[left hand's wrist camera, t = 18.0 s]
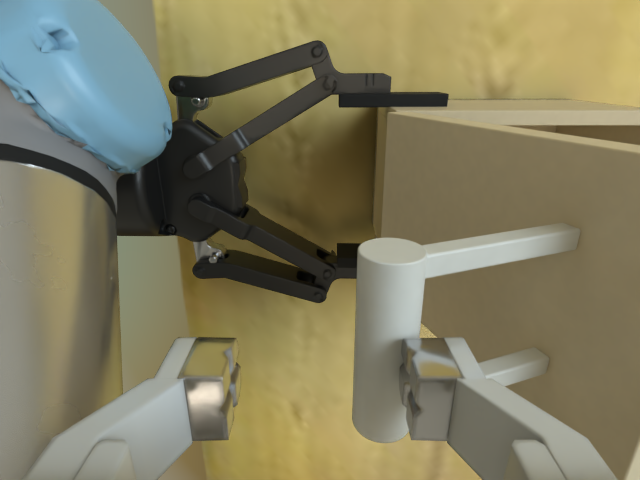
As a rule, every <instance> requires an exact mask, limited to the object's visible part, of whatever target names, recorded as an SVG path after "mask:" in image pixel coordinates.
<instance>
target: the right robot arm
mask: <svg viewBox="0 0 640 480" xmlns="http://www.w3.org/2000/svg"><path fill="white" fill-rule="evenodd" d="M309 67H312V69H313V72H314V74H315V77H316V80H315V81H313V82H311V83H310V84H308V85H307V86H305V87H304V88H302V89H300V90H299V91H297V92H296V93H294V94H292V95H291V96H289V97H288V98H286V99H285V100H283V101H281V102H280V103H278V104H277V105H275V106H273V107H272V108H270V109H269V110H267V111H266V112H264V113H262V114H261V115H259V116H258V117H256V118H254V119H253V120H251V121H250V122H248V123H247V124H245V125H243V126H242V127H240V128H239V129H237V130H235V131H234V132H232V133H231V134H229V135H227V136H226V137H224V138H223V137H222V136H221V135H219V134H218V133H216V132H215V131H213V130H212V129H211V128H209V127H208V126H206V125H205V124H203V123H202V122H201V121H199V120H197V116H198V113H199V112H200V111H201V110H204V109H208V108H209V107H210V106H211V105H212V101H213V97H216V96H221V95H225V94H229V93H232V92H235V91H238V90H241V89H244V88H247V87H250V86H254V85H257V84H260V83H263V82H266V81H269V80H272V79H275V78H278V77H281V76H284V75H287V74H290V73H293V72H296V71H299V70H302V69H305V68H309ZM169 89H170V91H171V92H172V94H174V95H175V96H176V100H177V115H178V120H177V121H175V122H173V123H172V116H171V111H170V107H169V103H168V100H167V97H166V94H165V92H164V89H163V87H162V85H161V82H160V80H159V78H158V76H157V74H156V72H155V70H154V69H153V67H152V65H151V63H150V62H149V60H148V59H147V57H146V55H145V54H144V52H143V51H142V49H141V48H140V46H139V45H138V44H137V42H136V41H135V39H134V38H133V37H132V36H131V35H130V33H129V32H128V31H127V30H126V29H125V27H124V26H123V25H122V24H121V23H120V22H119V21H118V20H117V19H116V18H115V16H114V15H113V14H112V13H111V12H110V11H109V10H108V9H107V8H106V7H105V6H103V5H102V4H101V3H100V2H99V1H98V0H0V480H22V479H23V478H24V476H25V475H26V474H27V472H28V471H29V470H30V468H31V467H32V466H33V464H34V463H35V462H36V460H37V459H38V457H39V456H40V455H41V453H42V452H43V451H44V449H45V448H46V447H47V445H48V444H49V443H50V441H51V440H52V438H53V437H55V436H57V435H58V434H60V433H61V432H63V431H65V430H66V429H68V428H69V427H71V426H73V425H74V424H76V423H77V422H79V421H81V420H82V419H84V418H85V417H87V416H89V415H90V414H92V413H93V412H95V411H97V410H98V409H100V408H101V407H103V406H105V405H106V404H108V403H109V402H111V401H113V400H114V399H116V398H117V397H119V396H121V395H122V394H123V385H122V358H121V332H120V306H119V280H118V253H117V236H171V235H177V236H181V237H184V238H186V239H188V240H190V241H192V242H193V244H194V250H195V255H196V260H197V262H196V264H195V265H194V267H193V274H194V275H195V276H196V277H197V278H201V279H206V278H228V279H231V280H235V281H239V282H242V283H246V284H250V285H253V286H257V287H261V288H264V289H268V290H272V291H275V292H279V293H283V294H286V295H290V296H294V297H297V298H301V299H305V300H308V301H312V302H316V303H321V302H323V301H325V299H326V296H327V292H328V290H329V287H330V285H331V283H332V282H333V281H334V280H336V279H339V278H353V279H357V254H358V247H359V246H360V244H359V243H337V255H336V254H335V252H334V251H333V250H331V252H328V251H327V250H325V249H323V248H321V247H319V246H317V245H316V244H314V243H312V242H310V241H308V240H306V239H305V238H303V237H301V236H299V235H297V234H295V233H294V232H292V231H290V230H288V229H286V228H285V227H283V226H281V225H279V224H277V223H275V222H274V221H272V220H270V219H268V218H266V217H264V216H263V215H261V214H260V213H259V212H258V211H257V210H256V209H255V208H253V207H251V206H249V205H247V204H246V202H247V201H248V189H247V187H246V184H245V181H244V176H245V171H246V160H245V157H243V155H242V153H241V152H240V151H241V150H243V149H245V148H246V147H248V146H249V145H251V144H252V143H254V142H255V141H257V140H259V139H260V138H262V137H264V136H265V135H267V134H268V133H270V132H272V131H273V130H275V129H277V128H278V127H280V126H281V125H283V124H285V123H286V122H288V121H289V120H291V119H293V118H294V117H296V116H298V115H299V114H301V113H302V112H304V111H306V110H307V109H309V108H311V107H312V106H314V105H315V104H317V103H319V102H320V101H322V100H323V99H325V98H327V97H328V96H330V95H339V107H447V104H448V95H449V94H446V93H440V92H390V89H391V77H390V76H388V75H386V74H383V73H350V74H344V73H340V72H338V71H337V70H335V68H334V67H333V65H332V62H331V59H330V56H329V53H328V50H327V47H326V45H325V44H324V43H323V42H321V41H312V42H309V43H306V44H303V45H300V46H297V47H294V48H291V49H288V50H286V51H283V52H280V53H277V54H274V55H271V56H268V57H265V58H262V59H259V60H256V61H253V62H250V63H247V64H244V65H241V66H238V67H235V68H232V69H229V70H226V71H223V72H220V73H217V74H214V75H211V76H208V77H207V76H191V75H190V76H174V77H172V78H171V79H170V81H169ZM221 229H222V230H224V231H226V232H227V233H229V234H231V235H233V236H235V237H237V238H239V239H246V240H249V241H251V242H253V243H255V244H257V245H258V246H260V247H262V248H264V249H266V250H268V251H270V252H272V253H273V254H275V255H277V256H279V257H281V258H283V259H285V260H287V261H288V262H290V263H292V264H294V265H296V266H298V267H300V268H298V267H295V266H291V265H288V264H284V263H280V262H277V261H273V260H270V259H266V258H263V257H259V256H255V255H252V254H248V253H245V252H241V251H236V250H226V248H225V246H224V245H223V244H217V243H214V242H213V241H212V240H211V238H210V237H211V236H213V235H214V234H215V233H217V232H218V231H219V230H221Z"/></svg>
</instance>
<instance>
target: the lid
mask: <svg viewBox="0 0 640 480" xmlns="http://www.w3.org/2000/svg"><path fill="white" fill-rule="evenodd" d="M421 323H422V324H423V325H424V326H425V327H427V328H428V329H429V330H430V331H431V332H432V333H433V334H434V335H435V336H436V337H437V338H442V337H462V338H464V339H465V341H466V343H467V345H468V346H469V348H470V350H471V352H472V354H473V355H474V357H475V359H476V361H477V363H478V364H479V366H480V368H481V370H482V372H483V373H484V375H485V377H486V379H494V380H495V381H497V382H498V383H500V384H502V385H503V386H505V387H506V388H508V389H510V390H511V391H513V392H514V393H516V394H518V395H519V396H521V397H522V398H524V399H526V400H527V401H529V402H530V403H532V404H533V405H535V406H537V407H538V408H540V409H541V410H543V411H545V412H546V413H548V414H549V415H551V416H553V417H554V418H556V419H557V420H559V421H561V422H562V423H564V424H565V425H567V426H569V427H570V428H572V429H573V430H575V431H576V432H578V433H580V434H581V435H583V436H584V437H586V438H588V440H589V441H590V442H591V444H592V445H593V447H594V448H595V449H596V451H597V452H598V453H599V455H600V456H601V457H602V459H603V460H604V462H605V463H606V464H607V466H608V467H609V468H610V470H611V471H612V473H613V474H614V475H615V477H616V478H617V479H618V480H640V145H634V144H627V143H621V142H614V141H607V140H600V139H593V138H586V137H579V136H572V135H566V134H559V133H552V132H545V131H538V130H531V129H524V128H517V127H511V126H504V125H497V124H490V123H483V122H476V121H469V120H462V119H456V118H449V117H442V116H435V115H428V114H421V113H414V112H408V111H406V112H389V113H388V114H387V133H386V151H385V170H384V188H383V207H382V225H381V238H376V239H371V240H368V241H365V242H363V243H362V244H360V246H359V247H358V254H357V285H356V316H355V347H354V378H353V409H352V420H353V424H354V426H355V428H356V429H357V431H358V432H359V433H360V434H361V435H362V436H364V437H365V438H367V439H369V440H371V441H374V442H379V443H391V442H395V441H398V440H400V439H402V438H403V437H404V436H405V435H406V434H407V433H408V431H409V429H408V425H407V421H406V409H407V408H406V407H405V406H404V405H403V404H402V401H401V397H400V390H399V370H400V366H401V365H402V363H403V358H402V355H401V347H402V340H403V338H419V335H420V325H421Z"/></svg>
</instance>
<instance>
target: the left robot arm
mask: <svg viewBox="0 0 640 480" xmlns="http://www.w3.org/2000/svg"><path fill="white" fill-rule="evenodd" d="M238 354H239V347H238V340H237V339H236V338H213V337H198V338H197V337H178V338H177V339H175V340H174V342H173V344H172V346H171V348H170V350H169V351H168V353H167V355H166V357H165V359H164V360H163V362H162V364H161V366H160V368H159V369H158V371H157V373H156V375H155V377H154V379H146V380H145V381H143V382H141V383H140V384H138V385H137V386H135V387H134V388H132V389H130V390H129V391H127V392H126V393H124V394H122V395H121V396H119V397H117V398H116V399H114V400H113V401H111V402H109V403H108V404H106V405H105V406H103V407H101V408H100V409H98V410H97V411H95V412H93V413H92V414H90V415H89V416H87V417H85V418H84V419H82V420H81V421H79V422H77V423H76V424H74V425H73V426H71V427H69V428H68V429H66V430H65V431H63V432H61V433H60V434H58V435H57V436H55V437H53V438H52V440H51V441H50V443H49V444H48V445H47V447H46V448H45V449H44V451H43V452H42V453H41V455H40V456H39V457H38V459H37V460H36V462H35V463H34V464H33V466H32V467H31V468H30V470H29V471H28V472H27V474H26V475H25V476H24V478H23V479H22V480H158V478H159V477H160V476H161V475H162V474H163V473H164V472H165V471H166V470H167V469H168V468H169V467H170V466H171V465H172V464H173V463H174V462H175V461H176V460H177V459H178V458H179V457H180V456H181V455H182V454H183V453H184V451H185V450H186V449H187V448H188V447H189V446H190V445H191V444H192V443H193V442H192V441H209V440H229V436H230V432H231V429H232V425H233V421H234V410H233V408H234V407H235V406H236V405H237V404H238V400H239V396H240V388H241V368H240V365H239V364H238V363H237V362H236V361H237V358H238ZM401 355H402V358H403V363H402V365H401V366H400V370H399V390H400V397H401V401H402V404H403V405H404V406H405V407H406V408H407V409H406V421H407V425H408V429H409V433H410V437H411V440H430V441H447V443H448V444H449V445H450V446H451V447H452V448H453V449H454V450H455V451H456V452H457V453H458V454H459V456H460V457H461V458H462V459H463V460H464V461H465V462H466V463H467V464H468V465H469V466H470V467H471V468H472V469H473V470H474V471H475V472H476V473H477V474H478V475H479V476H480V477H481V478H482V480H618V479H617V478H616V477H615V475H614V474H613V473H612V471H611V470H610V468H609V467H608V466H607V464H606V463H605V462H604V460H603V459H602V457H601V456H600V455H599V453H598V452H597V451H596V449H595V448H594V447H593V445H592V444H591V442H590V441H589V440H588V438H586V437H584V436H583V435H581V434H580V433H578V432H576V431H575V430H573V429H572V428H570V427H569V426H567V425H565V424H564V423H562V422H561V421H559V420H557V419H556V418H554V417H553V416H551V415H549V414H548V413H546V412H545V411H543V410H541V409H540V408H538V407H537V406H535V405H533V404H532V403H530V402H529V401H527V400H526V399H524V398H522V397H521V396H519V395H518V394H516V393H514V392H513V391H511V390H510V389H508V388H506V387H505V386H503V385H502V384H500V383H498V382H497V381H495V380H494V379H486V377H485V375H484V373H483V372H482V370H481V368H480V366H479V364H478V363H477V361H476V359H475V357H474V355H473V354H472V352H471V350H470V348H469V346H468V345H467V343H466V341H465V339H464V338H462V337H442V338H403V340H402V347H401Z"/></svg>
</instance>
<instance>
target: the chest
mask: <svg viewBox="0 0 640 480" xmlns="http://www.w3.org/2000/svg"><path fill="white" fill-rule="evenodd" d="M406 111H408V112H414V113H421V114H428V115H435V116H442V117H449V118H456V119H462V120H469V121H476V122H483V123H490V124H497V125H504V126H511V127H517V128H524V129H531V130H538V131H545V132H552V133H559V134H566V135H572V136H579V137H586V138H593V139H600V140H607V141H614V142H621V143H627V144H634V145H640V107H632V106H623V105H615V104H606V103H597V102H588V101H579V100H572V99H448V104H447V107H377V126H376V148H375V170H374V192H373V215H372V224H373V227H374V231H375V235H376V238H381V225H382V207H383V188H384V170H385V151H386V133H387V114H388V113H389V112H406Z"/></svg>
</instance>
